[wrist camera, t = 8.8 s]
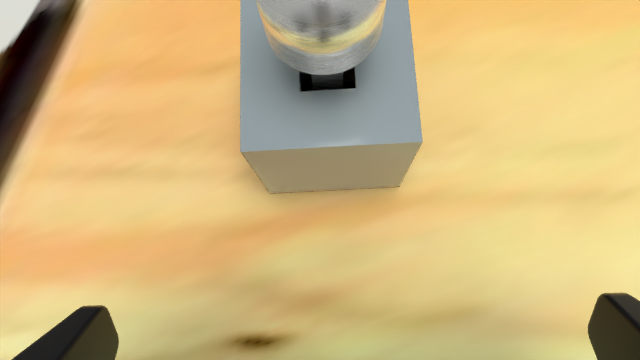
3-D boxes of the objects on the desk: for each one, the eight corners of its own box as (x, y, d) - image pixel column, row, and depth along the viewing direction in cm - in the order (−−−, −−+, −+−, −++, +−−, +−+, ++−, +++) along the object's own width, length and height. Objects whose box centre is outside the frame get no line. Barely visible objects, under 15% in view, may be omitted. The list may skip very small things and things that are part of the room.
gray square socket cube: (399, 186, 20) (422, 141, 14) (270, 193, 20) (240, 151, 14) (388, 68, 21) (406, -17, 15) (268, 76, 21) (240, -6, 16)
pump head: (372, 146, 18) (398, 17, 10) (291, 151, 18) (247, 27, 10) (363, 27, 19) (378, -179, 11) (288, 32, 19) (246, -168, 11)
